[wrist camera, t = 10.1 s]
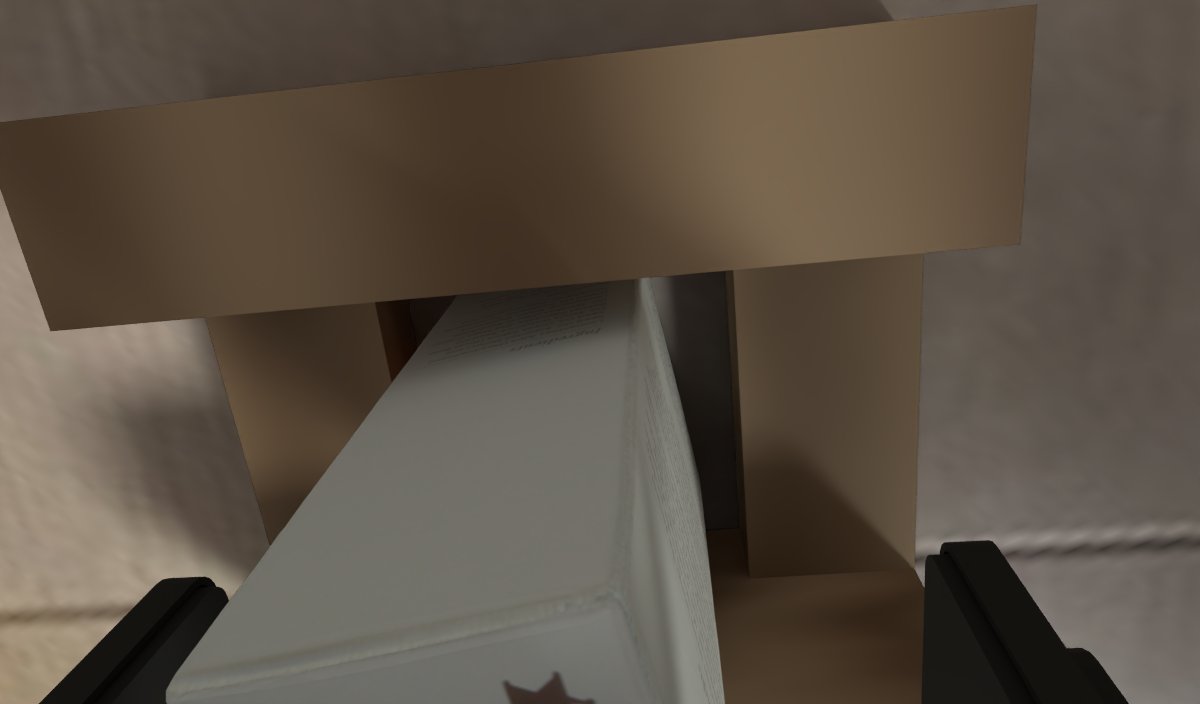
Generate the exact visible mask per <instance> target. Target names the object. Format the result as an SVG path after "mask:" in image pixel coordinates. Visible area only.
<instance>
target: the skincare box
mask: <svg viewBox="0 0 1200 704" xmlns="http://www.w3.org/2000/svg"><path fill="white" fill-rule="evenodd" d="M166 703H167V704H725V700H724V691H723V682H722V673H721V664H720V654H719V645H718V638H717V630H716V622H715V614H714V604H713V595H712V585H711V576H710V567H709V558H708V549H707V540H706V531H705V522H704V513H703V503H702V493H701V485H700V477H699V473H698V469H697V465H696V461H695V457H694V453H693V449H692V444H691V440H690V436H689V432H688V428H687V424H686V420H685V416H684V412H683V408H682V404H681V400H680V396H679V392H678V388H677V384H676V380H675V376H674V372H673V368H672V364H671V360H670V357H669V353H668V349H667V345H666V341H665V337H664V333H663V330H662V326H661V322H660V318H659V314H658V310H657V306H656V302H655V299H654V295H653V291H652V287H651V283H650V279H649V278H639V279H628V280H616V281H605V282H594V283H583V284H572V285H561V286H549V287H538V288H527V289H516V290H505V291H494V292H483V293H471V294H460V295H457V296H456V297H455V299H454V300H453V302H452V303H451V305H450V306H449V307H448V309H447V310H446V311H445V312H444V314H443V315H442V317H441V318H440V319H439V321H438V322H437V323H436V325H435V326H434V327H433V329H432V330H431V331H430V333H429V334H428V335H427V337H426V338H425V339H424V340H423V342H422V343H421V344H420V346H419V347H418V349H417V350H416V352H415V353H414V354H413V356H412V357H411V358H410V360H409V361H408V362H407V364H406V365H405V366H404V368H403V369H402V370H401V372H400V373H399V374H398V375H397V377H396V378H395V379H394V381H393V382H392V384H391V385H390V386H389V388H388V389H387V390H386V392H385V393H384V394H383V395H382V397H381V398H380V399H379V401H378V402H377V403H376V405H375V406H374V408H373V409H372V410H371V412H370V413H369V414H368V416H367V417H366V418H365V420H364V421H363V423H362V424H361V425H360V427H359V428H358V429H357V431H356V432H355V433H354V435H353V436H352V437H351V439H350V440H349V441H348V443H347V444H346V445H345V447H344V448H343V449H342V451H341V452H340V453H339V454H338V456H337V457H336V458H335V460H334V461H333V462H332V464H331V465H330V467H329V468H328V469H327V471H326V472H325V473H324V475H323V476H322V477H321V479H320V480H319V481H318V483H317V484H316V485H315V487H314V488H313V489H312V491H311V492H310V493H309V495H308V496H307V497H306V499H305V500H304V501H303V503H302V504H301V505H300V507H299V508H298V509H297V511H296V512H295V514H294V515H293V516H292V518H291V519H290V521H289V522H288V524H287V525H286V526H285V528H284V529H283V530H282V531H281V532H280V534H279V535H278V536H277V538H276V539H275V540H274V542H273V543H272V545H271V546H270V547H269V549H268V550H267V551H266V553H265V554H264V556H263V557H262V558H261V560H260V561H259V563H258V564H257V565H256V567H255V568H254V569H253V571H252V572H251V573H250V575H249V576H248V577H247V578H246V580H245V581H244V582H243V584H242V585H241V586H240V588H239V589H238V590H237V591H236V593H235V594H234V595H233V597H232V598H231V599H230V601H229V602H228V603H227V604H226V606H225V607H224V609H223V610H222V611H221V613H220V614H219V615H218V617H217V618H216V619H215V621H214V622H213V624H212V625H211V626H210V628H209V629H208V630H207V632H206V633H205V635H204V636H203V637H202V639H201V640H200V641H199V643H198V644H197V646H196V647H195V648H194V649H193V651H192V652H191V653H190V655H189V656H188V657H187V659H186V660H185V662H184V663H183V664H182V666H181V667H180V668H179V670H178V671H177V673H176V674H175V676H174V677H173V679H172V681H171V682H170V684H169V686H168V688H167V690H166Z"/></svg>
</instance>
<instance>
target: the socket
mask: <svg viewBox="0 0 1200 704" xmlns="http://www.w3.org/2000/svg"><path fill="white" fill-rule="evenodd" d="M1036 9H1037V4H1036V5H1028V6H1019V7H1010V8H1001V9H993V10H984V11H975V12H966V13H957V14H949V15H940V16H931V17H922V18H914V19H905V20H896V21H887V22H878V23H870V24H861V25H852V26H843V27H834V28H826V29H817V30H808V31H799V32H791V33H782V34H773V35H764V36H755V37H747V38H738V39H729V40H720V41H712V42H703V43H694V44H685V45H676V46H668V47H659V48H650V49H641V50H632V51H624V52H615V53H606V54H597V55H589V56H580V57H571V58H562V59H553V60H545V61H536V62H527V63H518V64H510V65H501V66H492V67H483V68H474V69H466V70H457V71H448V72H439V73H430V74H422V75H413V76H404V77H395V78H387V79H378V80H369V81H360V82H351V83H343V84H334V85H325V86H316V87H308V88H299V89H290V90H281V91H272V92H264V93H255V94H246V95H237V96H229V97H220V98H211V99H202V100H193V101H185V102H176V103H167V104H158V105H149V106H141V107H132V108H123V109H114V110H106V111H97V112H88V113H79V114H70V115H62V116H53V117H44V118H35V119H27V120H18V121H9V122H0V189H1V192H2V195H3V198H4V201H5V204H6V206H7V209H8V212H9V215H10V218H11V221H12V223H13V226H14V229H15V232H16V235H17V238H18V240H19V243H20V246H21V249H22V252H23V255H24V257H25V260H26V263H27V266H28V269H29V271H30V274H31V277H32V280H33V283H34V286H35V288H36V291H37V294H38V297H39V300H40V303H41V305H42V308H43V311H44V314H45V317H46V320H47V322H48V325H49V328H50V331H59V330H70V329H81V328H92V327H103V326H115V325H126V324H137V323H148V322H159V321H170V320H181V319H193V318H204V317H205V318H206V322H207V326H208V329H209V333H210V336H211V340H212V343H213V347H214V350H215V354H216V357H217V361H218V364H219V368H220V371H221V375H222V378H223V382H224V385H225V389H226V392H227V396H228V399H229V403H230V407H231V410H232V414H233V417H234V421H235V424H236V428H237V431H238V435H239V438H240V442H241V445H242V449H243V452H244V456H245V459H246V463H247V466H248V470H249V473H250V477H251V480H252V484H253V488H254V491H255V495H256V498H257V502H258V505H259V509H260V512H261V516H262V519H263V523H264V526H265V530H266V533H267V537H268V540H269V544H270V546H271V545H272V543H273V542H274V540H275V539H276V538H277V536H278V535H279V534H280V532H281V531H282V530H283V529H284V528H285V526H286V525H287V524H288V522H289V521H290V519H291V518H292V516H293V515H294V514H295V512H296V511H297V509H298V508H299V507H300V505H301V504H302V503H303V501H304V500H305V499H306V497H307V496H308V495H309V493H310V492H311V491H312V489H313V488H314V487H315V485H316V484H317V483H318V481H319V480H320V479H321V477H322V476H323V475H324V473H325V472H326V471H327V469H328V468H329V467H330V465H331V464H332V462H333V461H334V460H335V458H336V457H337V456H338V454H339V453H340V452H341V451H342V449H343V448H344V447H345V445H346V444H347V443H348V441H349V440H350V439H351V437H352V436H353V435H354V433H355V432H356V431H357V429H358V428H359V427H360V425H361V424H362V423H363V421H364V420H365V418H366V417H367V416H368V414H369V413H370V412H371V410H372V409H373V408H374V406H375V405H376V403H377V402H378V401H379V399H380V398H381V397H382V395H383V394H384V393H385V392H386V390H387V389H388V388H389V386H390V385H391V384H392V382H393V381H394V379H395V378H396V377H397V375H398V374H399V373H400V372H401V370H402V369H403V368H404V366H405V365H406V364H407V362H408V361H409V360H410V358H411V357H412V356H413V354H414V353H415V352H416V350H417V345H416V340H415V335H414V330H413V325H412V320H411V314H410V309H409V304H408V299H416V298H427V297H438V296H449V295H460V294H471V293H483V292H494V291H505V290H516V289H527V288H538V287H549V286H561V285H572V284H583V283H594V282H605V281H616V280H628V279H639V278H650V277H661V276H672V275H683V274H694V273H706V272H717V271H725V276H726V294H727V312H728V329H729V347H730V365H731V383H732V401H733V419H734V437H735V454H736V472H737V490H738V508H739V526H740V528H739V529H723V530H707V531H706V540H707V549H708V558H709V567H710V576H711V585H712V595H713V604H714V614H715V622H716V630H717V638H718V645H719V654H720V664H721V673H722V682H723V691H724V700H725V704H921V698H922V663H923V627H924V592H925V589H924V587H923V585H922V583H921V581H920V579H919V577H918V575H917V573H916V571H915V569H914V566H915V531H916V496H917V460H918V425H919V390H920V355H921V320H922V285H923V253H929V252H940V251H951V250H962V249H973V248H984V247H996V246H1007V245H1018V244H1020V240H1021V226H1022V211H1023V197H1024V182H1025V168H1026V153H1027V139H1028V125H1029V110H1030V96H1031V81H1032V67H1033V52H1034V38H1035V24H1036Z"/></svg>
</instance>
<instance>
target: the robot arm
mask: <svg viewBox="0 0 1200 704" xmlns="http://www.w3.org/2000/svg"><path fill="white" fill-rule="evenodd" d="M228 602H229V600H228V597H227V595H226V592H225V591H224V590H223V589H222V588H220V587H216V585H215V583H214V582H213V581H212V580H211V579H210V578H207V577H186V578H168V579H163V580H162V581H160V582H159V583H157V584H156V585H155V586H154V587H153V588H152V589H151V590H150V591H149V592H148V593H147V594H146V595H145V596H144V597H143V598H142V599H141V600H140V602H139V603H138V604H137V605H136V606H135V607H134V608H133V609H132V610H131V611H130V612H129V613H128V614H127V615H126V616H125V617H124V618H123V619H122V620H121V621H120V622H119V623H118V624H117V625H116V626H115V627H114V628H113V629H112V630H111V631H110V632H109V633H108V634H107V635H106V636H105V637H104V638H103V639H102V640H101V641H100V642H99V643H98V644H97V645H96V646H95V647H94V648H93V649H92V650H91V651H90V652H89V653H88V654H87V655H86V656H85V657H84V658H83V659H82V660H81V662H80V663H79V664H78V665H77V666H76V667H75V668H74V669H73V670H72V671H71V672H70V673H69V674H68V675H67V676H66V677H65V678H64V679H63V680H62V681H61V682H60V683H59V684H58V685H57V686H56V687H55V688H54V689H53V690H52V691H51V692H50V693H49V694H48V695H47V696H46V697H45V698H44V699H43V700H42V701H41V702H40V703H39V704H167V703H166V690H167V688H168V686H169V684H170V682H171V681H172V679H173V677H174V676H175V674H176V673H177V671H178V670H179V668H180V667H181V666H182V664H183V663H184V662H185V660H186V659H187V657H188V656H189V655H190V653H191V652H192V651H193V649H194V648H195V647H196V646H197V644H198V643H199V641H200V640H201V639H202V637H203V636H204V635H205V633H206V632H207V630H208V629H209V628H210V626H211V625H212V624H213V622H214V621H215V619H216V618H217V617H218V615H219V614H220V613H221V611H222V610H223V609H224V607H225V606H226V604H227V603H228ZM921 704H1129V703H1128V702H1127V700H1126V699H1125V698H1124V696H1123V695H1122V694H1121V692H1120V691H1119V689H1118V688H1117V687H1116V685H1115V684H1114V682H1113V681H1112V680H1111V678H1110V677H1109V675H1108V674H1107V673H1106V671H1105V670H1104V669H1103V667H1102V666H1101V664H1100V663H1099V662H1098V660H1097V659H1096V658H1095V657H1094V656H1093V655H1092V654H1091V653H1090V652H1089V651H1087V650H1085V649H1083V648H1066V647H1065V645H1064V644H1063V642H1062V641H1061V640H1060V638H1059V637H1058V635H1057V634H1056V632H1055V631H1054V629H1053V628H1052V626H1051V625H1050V623H1049V622H1048V620H1047V619H1046V618H1045V616H1044V615H1043V613H1042V612H1041V610H1040V609H1039V607H1038V606H1037V604H1036V603H1035V601H1034V600H1033V598H1032V597H1031V596H1030V594H1029V593H1028V591H1027V590H1026V588H1025V587H1024V585H1023V584H1022V582H1021V581H1020V579H1019V578H1018V576H1017V575H1016V574H1015V572H1014V571H1013V569H1012V568H1011V566H1010V565H1009V563H1008V562H1007V560H1006V559H1005V557H1004V556H1003V554H1002V553H1001V552H1000V550H999V549H998V547H997V546H996V545H995V544H994V542H993V541H989V540H987V541H965V542H944V543H943V544H942V546H941V549H940V555H928V556H927V558H926V563H925V592H924V627H923V663H922V698H921Z"/></svg>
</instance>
